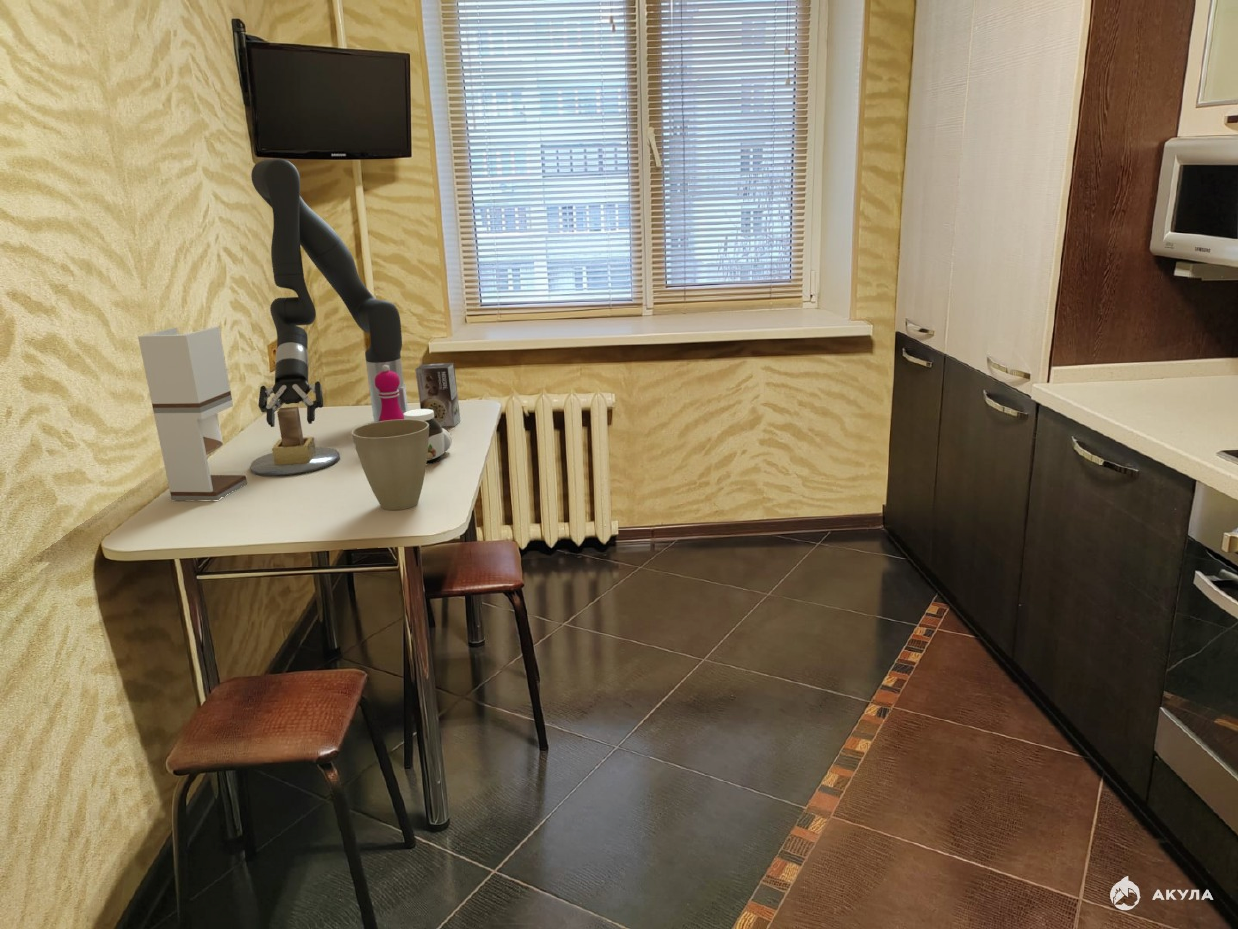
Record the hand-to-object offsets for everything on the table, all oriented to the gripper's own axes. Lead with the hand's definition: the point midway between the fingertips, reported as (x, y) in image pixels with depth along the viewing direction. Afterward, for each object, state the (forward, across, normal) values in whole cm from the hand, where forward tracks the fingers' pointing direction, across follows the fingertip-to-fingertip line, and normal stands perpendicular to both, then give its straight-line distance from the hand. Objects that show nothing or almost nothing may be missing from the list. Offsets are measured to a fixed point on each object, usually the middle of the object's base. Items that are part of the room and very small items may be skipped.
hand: (290, 423), depth 211 cm
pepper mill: (-1, +22, +15) cm, 27 cm away
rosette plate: (+7, 0, +8) cm, 10 cm away
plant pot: (+33, +26, -19) cm, 46 cm away
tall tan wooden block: (+6, 0, +7) cm, 9 cm away
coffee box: (-12, +33, +27) cm, 44 cm away
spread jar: (+10, +31, +4) cm, 33 cm away
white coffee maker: (+19, -16, -4) cm, 25 cm away
